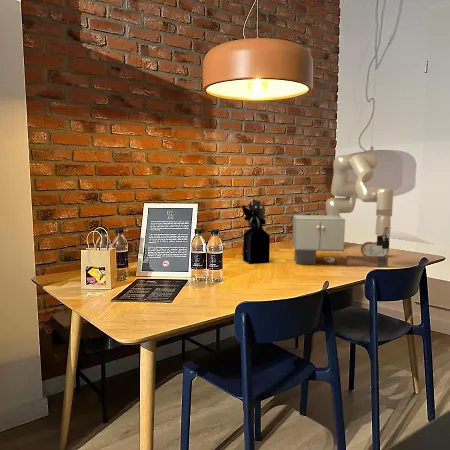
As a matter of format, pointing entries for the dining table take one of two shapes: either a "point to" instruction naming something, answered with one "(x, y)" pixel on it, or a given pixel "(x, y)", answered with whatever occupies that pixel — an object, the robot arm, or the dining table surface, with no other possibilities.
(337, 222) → the cabinet
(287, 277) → the dining table surface
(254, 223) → the vase
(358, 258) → the brown rectangular bar
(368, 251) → the tin
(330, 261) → the puck
